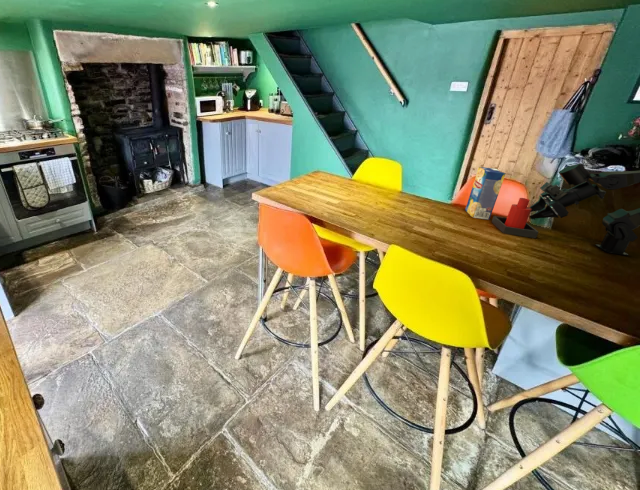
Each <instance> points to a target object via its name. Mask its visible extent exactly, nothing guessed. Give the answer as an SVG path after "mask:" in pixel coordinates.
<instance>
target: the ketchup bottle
mask: <svg viewBox="0 0 640 490" xmlns="http://www.w3.org/2000/svg"><path fill="white" fill-rule="evenodd" d="M530 201H531V200H530V199H529V198H525V197H519V198H518V201H517V204H511V206H510V208H509V211H508V214H507V217H506V218H507V219H506V222H505V225H506V226H507V227H514V228H520V229H524V227H525V225H526V223H528V219H529V217H530V216H531V215H530V214H531V213H532V212H531V210H532V209H531V208H529V203H530Z"/></svg>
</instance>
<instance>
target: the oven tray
mask: <svg viewBox="0 0 640 490" xmlns="http://www.w3.org/2000/svg"><path fill="white" fill-rule="evenodd" d="M506 219H507V217H503V216H496V215H493V217H492V220H491V223H492V224H493V225H494V226H495V227H496V229H498V230H499V231H500V232H501V233H502V234H504V235H505V234H506V235H512V236H518V237H524V238H531V239H537V236H538V235H539V231H538V230H537V229H536V228H534V227H533V226H532V225H530V224H529V223H528V222H526V225H525V227H524V229H520V228H514V227H507V226H506V225H505V222H506Z"/></svg>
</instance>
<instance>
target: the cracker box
mask: <svg viewBox="0 0 640 490" xmlns="http://www.w3.org/2000/svg"><path fill="white" fill-rule="evenodd" d="M506 175H507V173H505V172H504V171H502V170H499V169H497V168H495V167H484V166H478V168H477V172H476V175H475V177H474V181H473V184H472V187H471V190H470V194H469V196H468V200H467V203H466V206H465V209H464V211H466V212H467V214H469V216H470V217H472V218H474V219H480V220H481V219H482V220H488V221H490V219H491V217H492V213H493V211H494V208H495V205H496V203H497V199H498V197H499V195H500V194H499V193H500V191H501V188H502V186H503V182H504V179H505V177H506Z"/></svg>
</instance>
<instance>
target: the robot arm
mask: <svg viewBox="0 0 640 490" xmlns="http://www.w3.org/2000/svg"><path fill="white" fill-rule="evenodd" d="M585 167H586V166H585V165H584V164H583V163H581V162H579V163H577V164H573V165H570V166H566V167H564V168H562V169H560V170H559V171H558V175H560V177H561V178H562V179H563V180H564V181H565V184H567V185H568V186H571V185H572V186H573V187H571V188H562V189H561V186H559V185H557V184H552V183H550V182H548V181H545V183H543V184H542V185H541V186H540V187H539V189H541V191H542V193H540V195H539V196H538V200H537V201H536V202H535V203H533V204H532V205H530V207H529V206H528V207H529V208H531V209H532V210H531V212H530V213H533V214H531V215H529V217H530V219H532V220H534V219H548V218H550V219H551V218H558V219H559V218H560V219H562V218H566V217H567V216H568V215H569V211H568V210H567V207H570V206H572V205H579V204H581V203H580V202H582V201H584V200H587V199H589V198H591V197H594V196H596V197H598V198H600V199H601V200H603V199H604V198H605V195H606V193H607V191H605V190H602V189H601V188H600V187H602V188H603V189H606V190H609V191H613V190H619V189H622V188H627V187H630V186H632V185H635V184H639V183H640V169H639V170H630V171H629V170H611V171H610V170H609V171H602V172H600V173H590V172H589V171H588V170H587V169H586V168H585ZM590 181H591V182H593V184H592V183H591V182H590ZM599 186H600V187H599ZM534 212H535V213H534ZM601 223H602V225H603V227H604V228H605V232H606V234H605V235H604V237H603V238H602V241H601V243H600V244H595V247H597V248H598V249H600V250H601V251H604V252H605V253H607V254H614V255H620V256H627V257H628V256H629V254H628V253H627V252H625V251H626V249H627V248H628V247H629V244H630V243H632V242H635V241H636V240H637V239H638V235H637V234H636V233H635V232H634V230H636V229H637V228H639V227H640V207H638V208H636V209H633V210H625V209H623V208H619V209H617V210H615V211H613V212H608V213H607V215H606V216H604V217H603V218H602V222H601Z"/></svg>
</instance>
